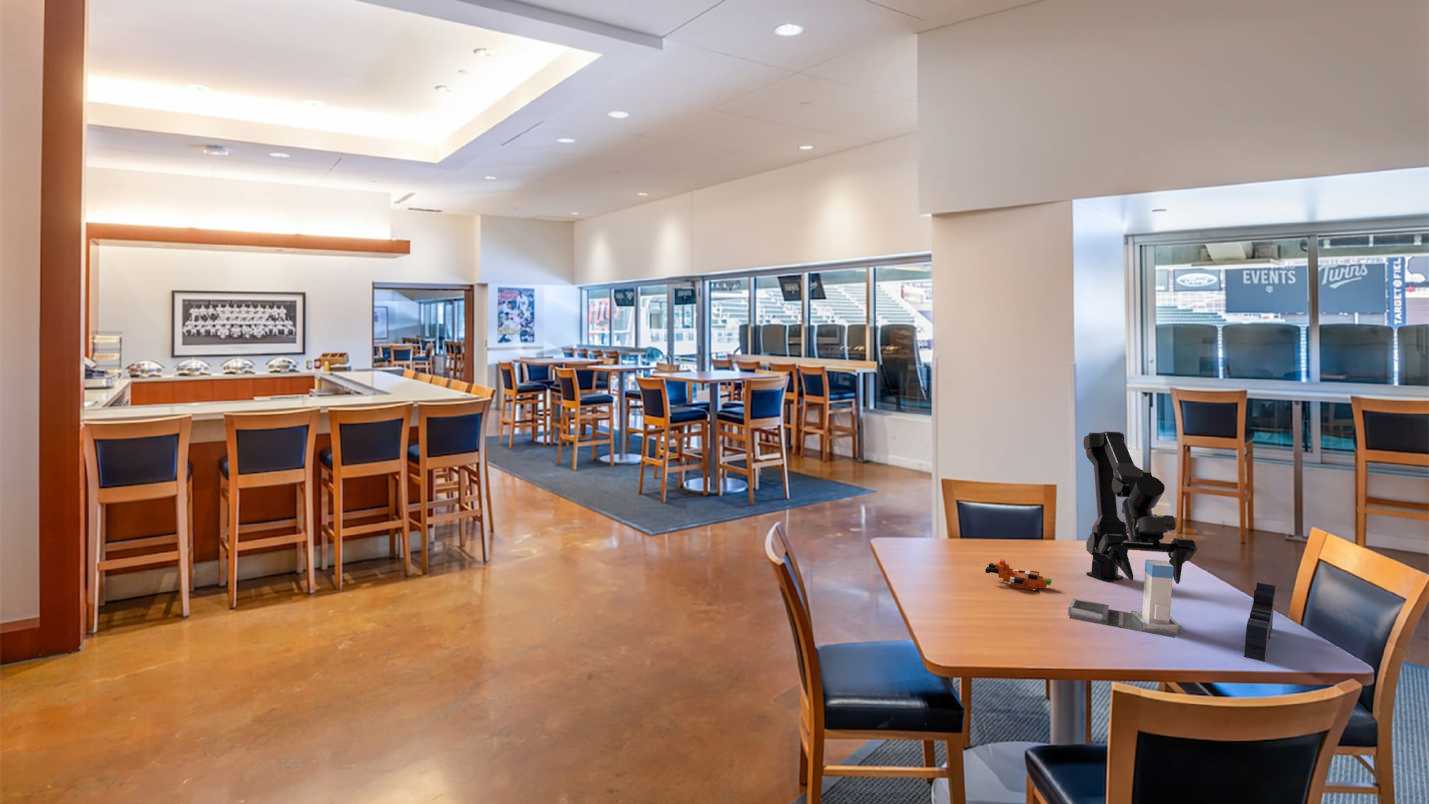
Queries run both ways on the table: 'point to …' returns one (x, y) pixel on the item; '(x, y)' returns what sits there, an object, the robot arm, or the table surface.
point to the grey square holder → (1088, 614)
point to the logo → (1260, 622)
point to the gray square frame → (1155, 624)
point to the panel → (1119, 621)
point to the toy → (1018, 576)
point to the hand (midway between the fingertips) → (1154, 581)
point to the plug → (1157, 591)
